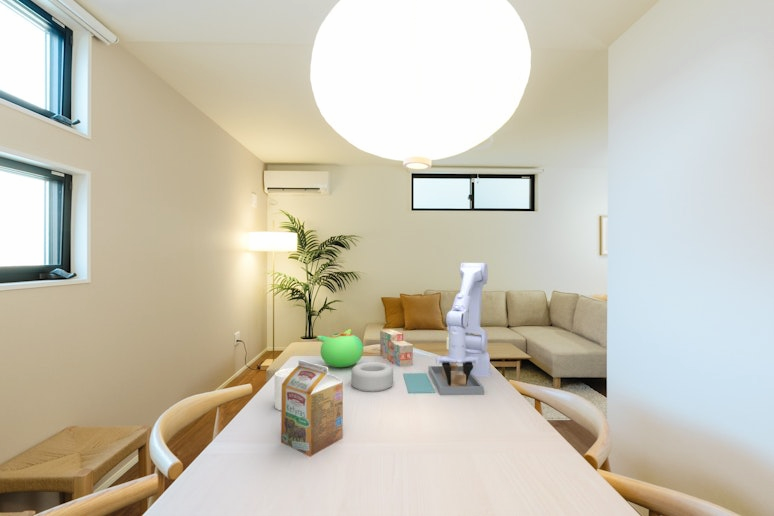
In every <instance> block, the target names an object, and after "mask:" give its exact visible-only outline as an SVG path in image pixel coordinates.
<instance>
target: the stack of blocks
mask: <svg viewBox="0 0 774 516" xmlns="http://www.w3.org/2000/svg"><path fill="white" fill-rule="evenodd" d="M379 343H380V346H379V347H380V348H379V349H380V350H379V354H380V357H382V358H383V359H385V360H386V359H387V360H386V361H388V360H389V361H388V362H390V363H391V362H392V364H393V363H394V364H395V366H398V367H399V368H402V367H411V366H413V354H414V353H413V352H414V350H413V349H414V345H413V344H412V343H410V342H407V341H405V340H404V333H402V332H400V331H398V330H395V329H393V328H391V329H390V328H389V329H380V331H379ZM394 364H393V365H394Z"/></svg>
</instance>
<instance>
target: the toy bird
mask: <svg viewBox="0 0 774 516" xmlns="http://www.w3.org/2000/svg"><path fill="white" fill-rule="evenodd" d="M316 339H317V340H319V341H320V342H321V343H322V344H321V346H320V356H321V358H322V360H323V361H324V363H326V364H327V365H329V366H331V367H334V368H347V367H351V366H353V365H354V364H355V365H356V364H357V362H359V361H360V360H361V358H362V357H363V354H364V345H363V342H362V340H361V339H360V337H358V336H357V335H354V334H352V329H351V328H350V329H347V330H346V331H344V332H339V333H334V334H331V335H329V336H325V335H316Z"/></svg>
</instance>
